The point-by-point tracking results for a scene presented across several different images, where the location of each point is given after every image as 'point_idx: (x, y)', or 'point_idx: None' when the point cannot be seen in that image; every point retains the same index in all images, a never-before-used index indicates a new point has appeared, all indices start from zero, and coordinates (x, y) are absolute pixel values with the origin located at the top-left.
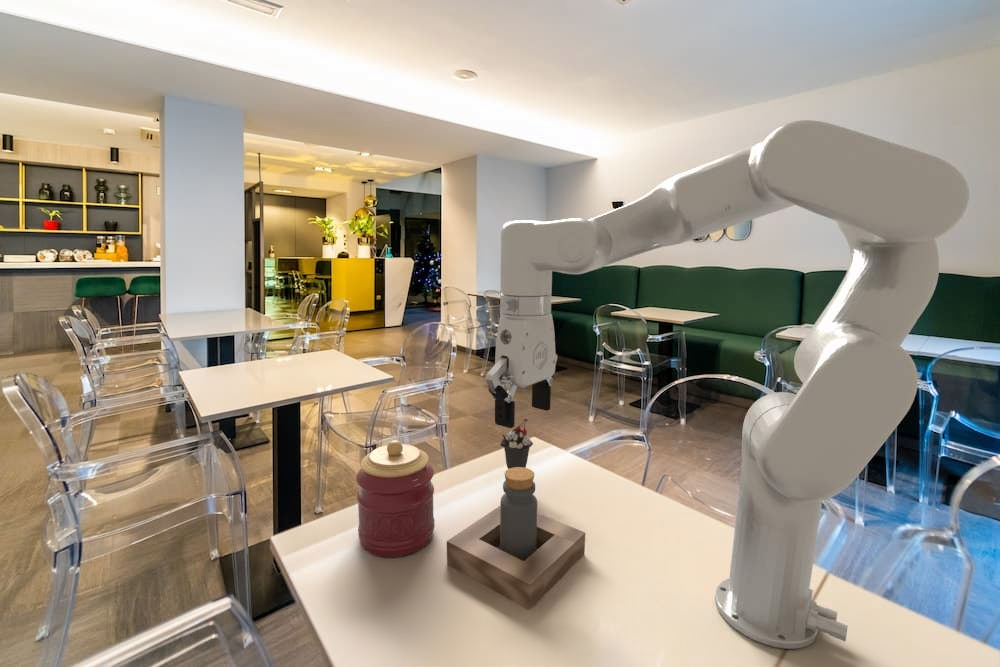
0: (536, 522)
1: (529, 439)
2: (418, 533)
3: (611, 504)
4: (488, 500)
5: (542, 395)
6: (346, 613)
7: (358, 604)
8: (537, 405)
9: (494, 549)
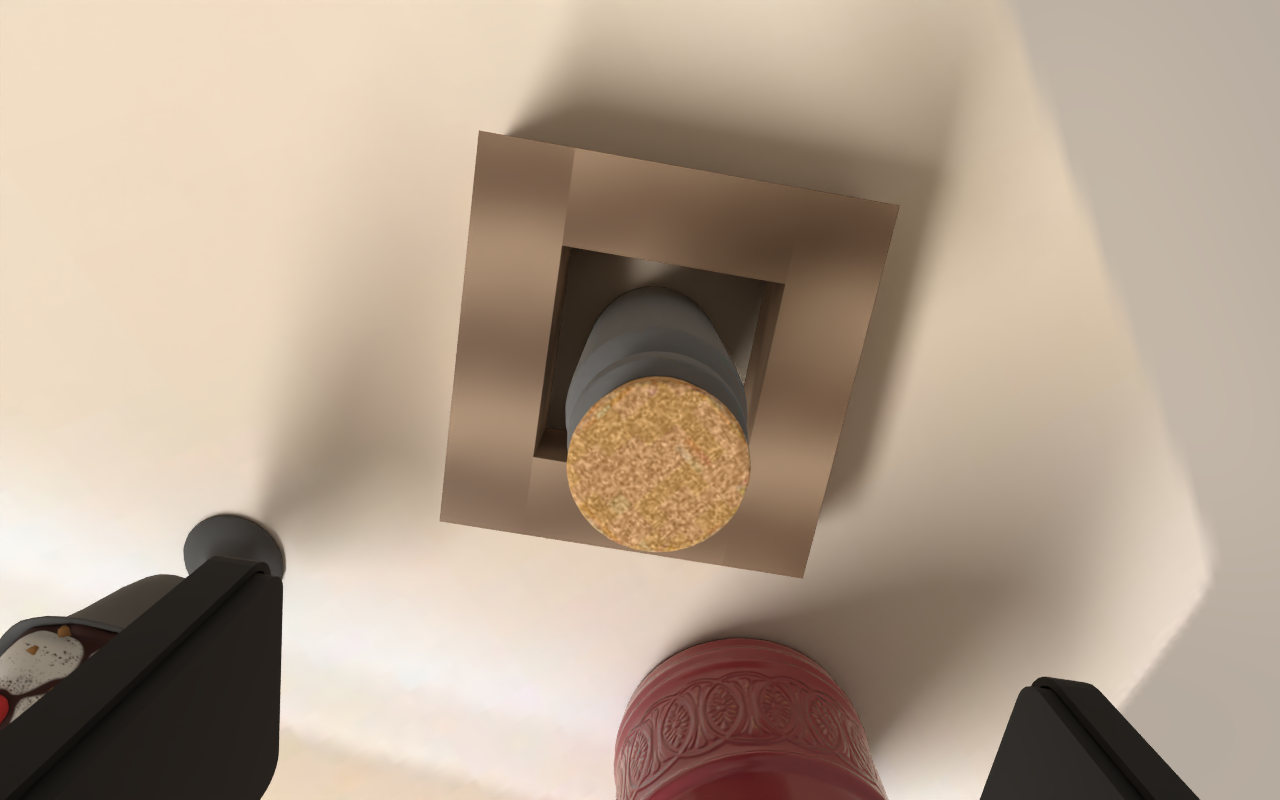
0: (638, 310)
1: (16, 653)
2: (786, 681)
3: (82, 152)
4: (382, 605)
5: (154, 794)
6: (1080, 643)
7: (1041, 640)
8: (261, 726)
9: (769, 411)
